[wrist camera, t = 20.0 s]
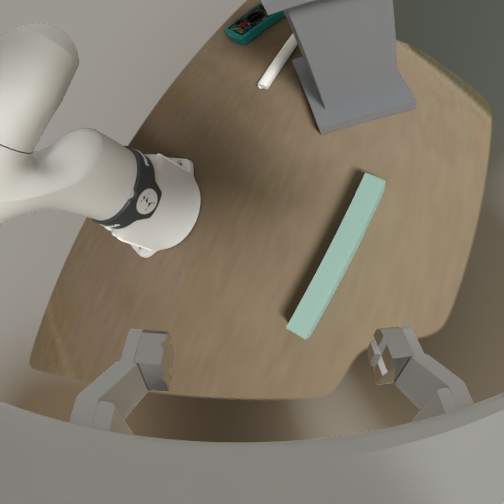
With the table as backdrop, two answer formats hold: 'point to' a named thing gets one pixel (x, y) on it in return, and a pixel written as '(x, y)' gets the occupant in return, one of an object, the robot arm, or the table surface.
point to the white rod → (277, 63)
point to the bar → (337, 256)
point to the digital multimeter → (252, 24)
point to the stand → (346, 59)
